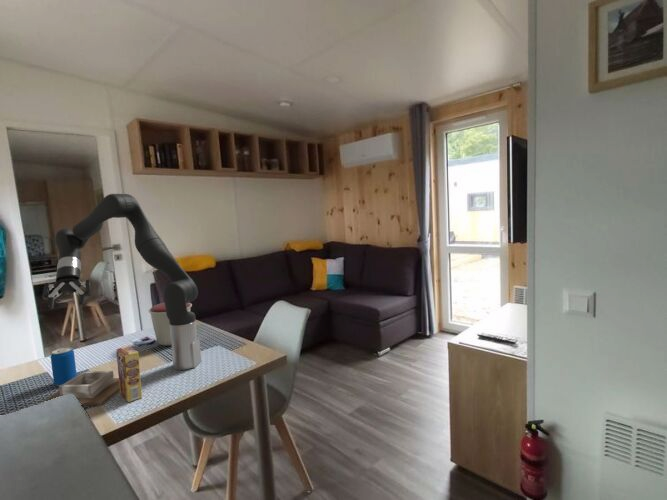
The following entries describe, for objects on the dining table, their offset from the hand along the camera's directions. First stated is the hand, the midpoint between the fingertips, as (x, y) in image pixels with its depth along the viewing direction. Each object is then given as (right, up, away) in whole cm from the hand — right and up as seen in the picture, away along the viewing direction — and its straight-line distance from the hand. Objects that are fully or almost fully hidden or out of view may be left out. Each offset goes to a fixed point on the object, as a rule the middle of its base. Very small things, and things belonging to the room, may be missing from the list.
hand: (66, 306), depth 125 cm
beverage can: (+4, -27, -5) cm, 27 cm away
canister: (+25, -22, +32) cm, 46 cm away
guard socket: (+18, -27, -13) cm, 34 cm away
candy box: (+33, -27, -16) cm, 45 cm away
